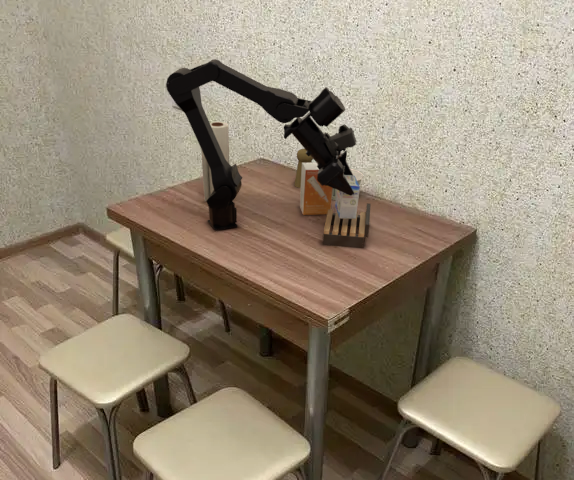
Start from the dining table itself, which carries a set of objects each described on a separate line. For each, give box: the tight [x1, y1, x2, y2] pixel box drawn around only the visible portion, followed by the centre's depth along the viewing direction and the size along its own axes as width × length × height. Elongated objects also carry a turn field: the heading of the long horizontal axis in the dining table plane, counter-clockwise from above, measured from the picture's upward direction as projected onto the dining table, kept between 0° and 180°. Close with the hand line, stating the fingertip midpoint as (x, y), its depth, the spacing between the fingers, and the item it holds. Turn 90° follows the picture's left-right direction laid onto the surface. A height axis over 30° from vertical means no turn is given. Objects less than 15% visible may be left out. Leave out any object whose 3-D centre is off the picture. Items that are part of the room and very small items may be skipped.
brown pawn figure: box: [294, 148, 314, 189], centre depth 178 cm, size 6×6×11 cm
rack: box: [322, 203, 372, 249], centre depth 150 cm, size 11×14×6 cm
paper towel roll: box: [200, 121, 230, 202], centre depth 164 cm, size 7×6×21 cm
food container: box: [332, 168, 364, 201], centre depth 173 cm, size 12×12×6 cm
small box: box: [299, 161, 333, 216], centre depth 161 cm, size 8×6×13 cm
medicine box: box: [334, 175, 361, 219], centre depth 146 cm, size 8×4×9 cm, turn 4°
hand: (353, 188), depth 145 cm, fingers closed on medicine box, 8 cm apart
